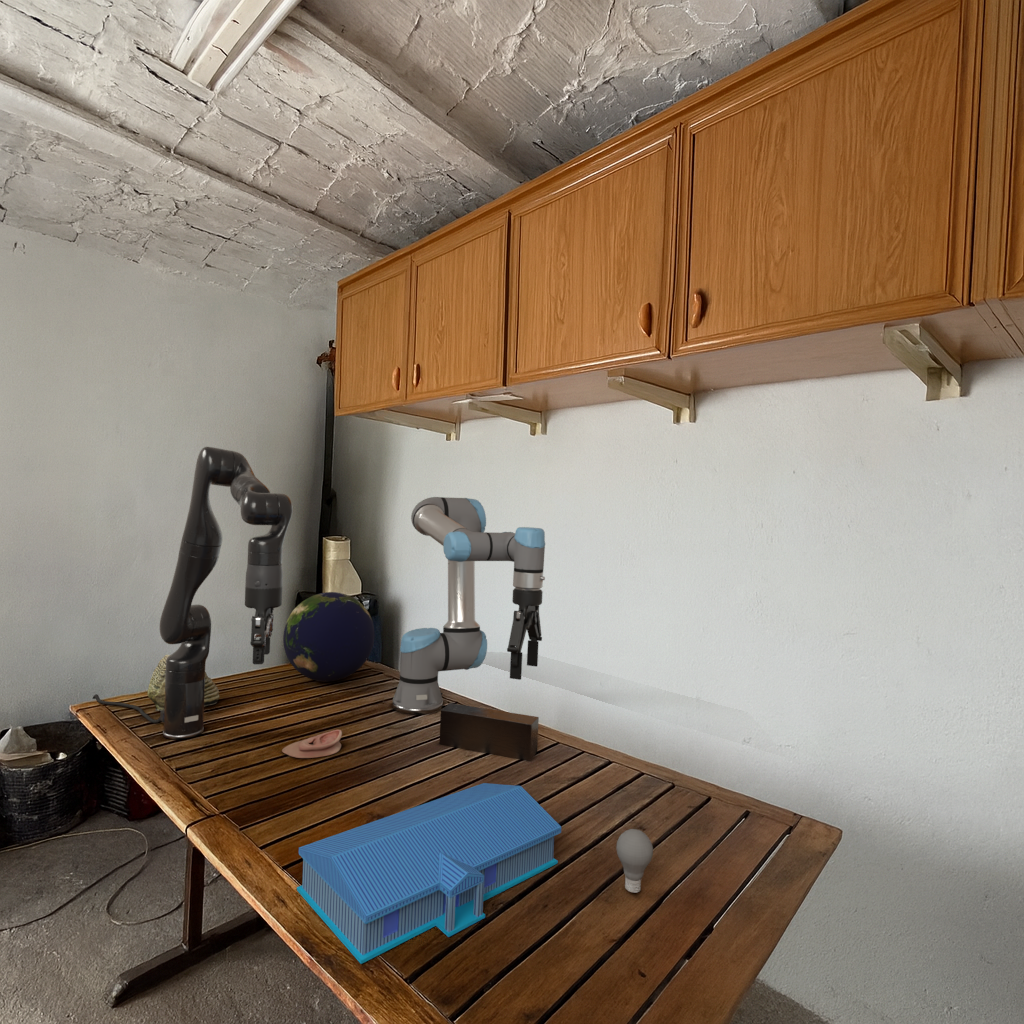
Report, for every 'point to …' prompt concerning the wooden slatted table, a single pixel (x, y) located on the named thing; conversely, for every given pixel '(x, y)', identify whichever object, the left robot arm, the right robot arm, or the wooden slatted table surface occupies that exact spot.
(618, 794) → the wooden slatted table surface
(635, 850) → the light bulb
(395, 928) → the model building
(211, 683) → the fossil
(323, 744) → the anatomical model
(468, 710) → the box
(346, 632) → the globe
